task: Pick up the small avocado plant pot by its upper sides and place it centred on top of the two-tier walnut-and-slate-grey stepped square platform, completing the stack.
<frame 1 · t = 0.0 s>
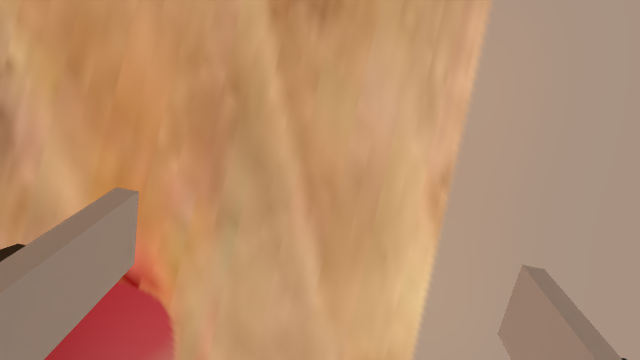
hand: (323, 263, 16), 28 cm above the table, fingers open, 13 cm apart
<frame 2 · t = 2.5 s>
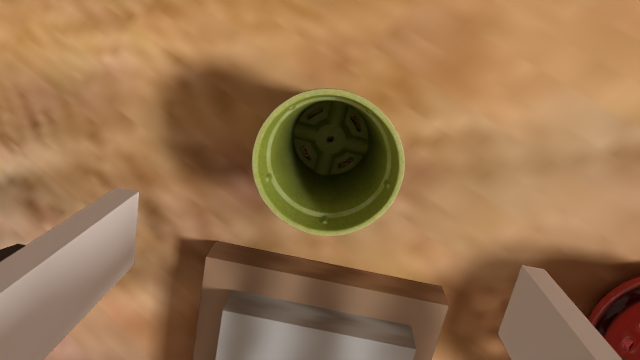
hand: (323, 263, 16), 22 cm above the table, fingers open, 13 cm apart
plant pot: (331, 136, 37), on the table
stepped square platform: (307, 357, 43), on the table
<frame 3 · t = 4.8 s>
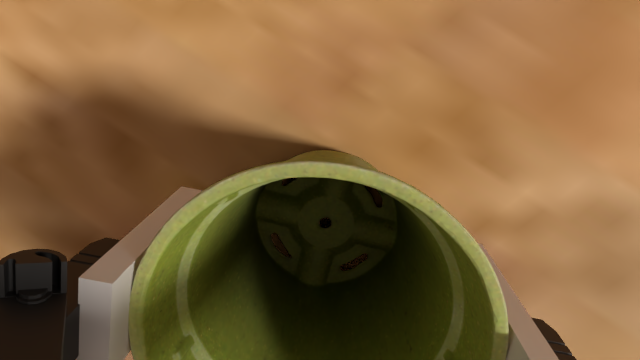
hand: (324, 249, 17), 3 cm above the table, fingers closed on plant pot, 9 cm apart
plant pot: (328, 215, 20), on the table, touching gripper
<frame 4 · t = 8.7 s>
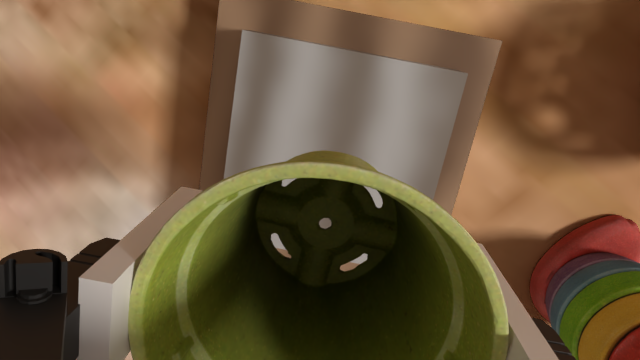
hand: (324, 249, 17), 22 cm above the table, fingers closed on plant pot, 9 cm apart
plant pot: (328, 215, 20), point 19 cm above the table, touching gripper
stacking bear: (584, 279, 40), on the table
stepped square platform: (335, 141, 38), on the table
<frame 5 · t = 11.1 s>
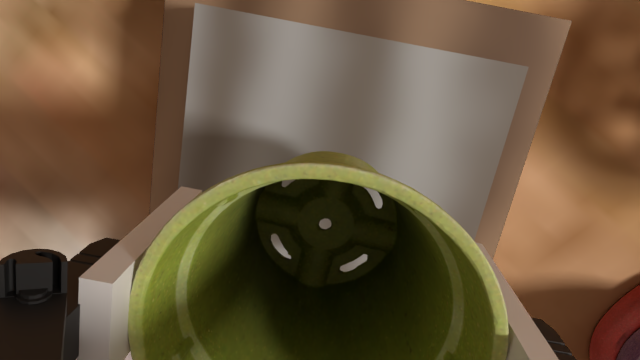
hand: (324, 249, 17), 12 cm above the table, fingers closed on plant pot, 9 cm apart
plant pot: (328, 216, 20), point 9 cm above the table, touching gripper
stepped square platform: (333, 161, 28), on the table
when the fingers open (9 cm above the table, at t = 12.9 s): plant pot stays where it is, resting on stepped square platform.
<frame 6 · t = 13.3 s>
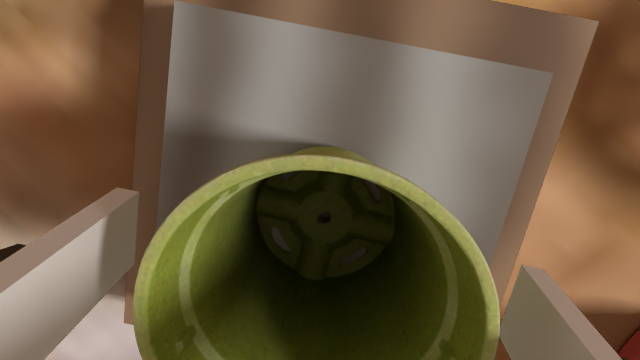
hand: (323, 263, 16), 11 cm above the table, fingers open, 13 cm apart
plant pot: (327, 210, 20), point 6 cm above the table, touching stepped square platform
stepped square platform: (332, 174, 26), on the table
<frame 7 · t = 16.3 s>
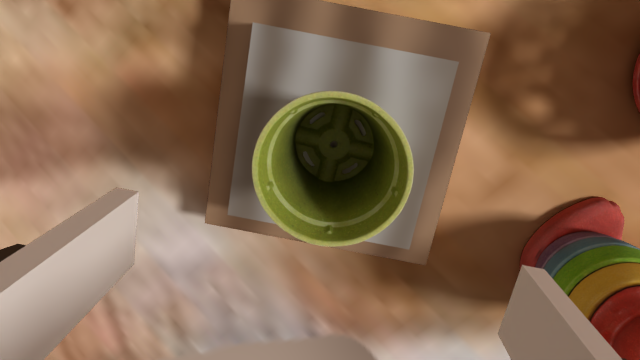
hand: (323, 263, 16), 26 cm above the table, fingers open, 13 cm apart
plant pot: (335, 141, 35), point 6 cm above the table, touching stepped square platform
stacking bear: (570, 258, 43), on the table
stepped square platform: (337, 128, 41), on the table
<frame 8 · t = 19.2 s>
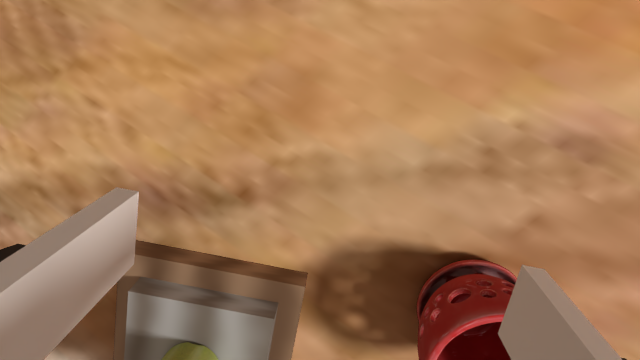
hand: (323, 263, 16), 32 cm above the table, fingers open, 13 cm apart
plant pot 2: (464, 302, 51), on the table
stepped square platform: (210, 331, 54), on the table
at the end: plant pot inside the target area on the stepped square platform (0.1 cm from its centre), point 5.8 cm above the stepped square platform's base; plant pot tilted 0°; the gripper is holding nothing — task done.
